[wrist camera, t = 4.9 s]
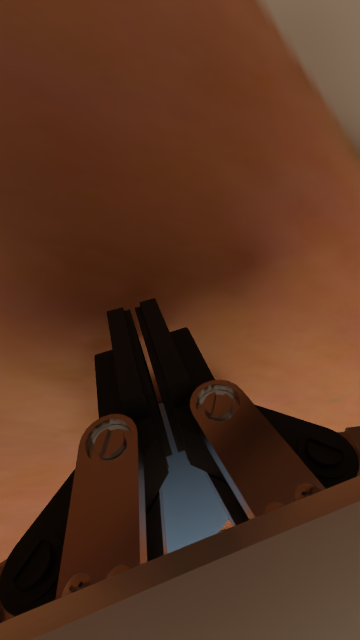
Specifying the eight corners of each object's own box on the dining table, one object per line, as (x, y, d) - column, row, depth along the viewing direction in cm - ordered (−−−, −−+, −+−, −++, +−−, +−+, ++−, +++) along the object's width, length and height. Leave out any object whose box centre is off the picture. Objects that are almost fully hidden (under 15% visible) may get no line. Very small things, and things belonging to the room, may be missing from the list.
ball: (83, 398, 14) (88, 549, 9) (206, 361, 15) (269, 480, 10) (116, 464, 17) (132, 597, 12) (213, 431, 18) (262, 542, 13)
